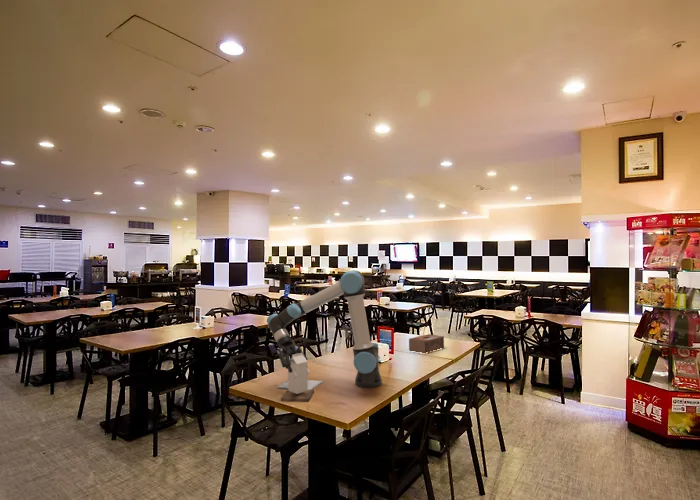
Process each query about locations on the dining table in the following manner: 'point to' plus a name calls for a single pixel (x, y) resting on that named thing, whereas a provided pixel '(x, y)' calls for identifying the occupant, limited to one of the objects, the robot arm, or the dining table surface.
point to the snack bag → (311, 384)
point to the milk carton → (298, 374)
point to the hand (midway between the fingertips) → (301, 375)
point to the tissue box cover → (426, 343)
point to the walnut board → (297, 396)
